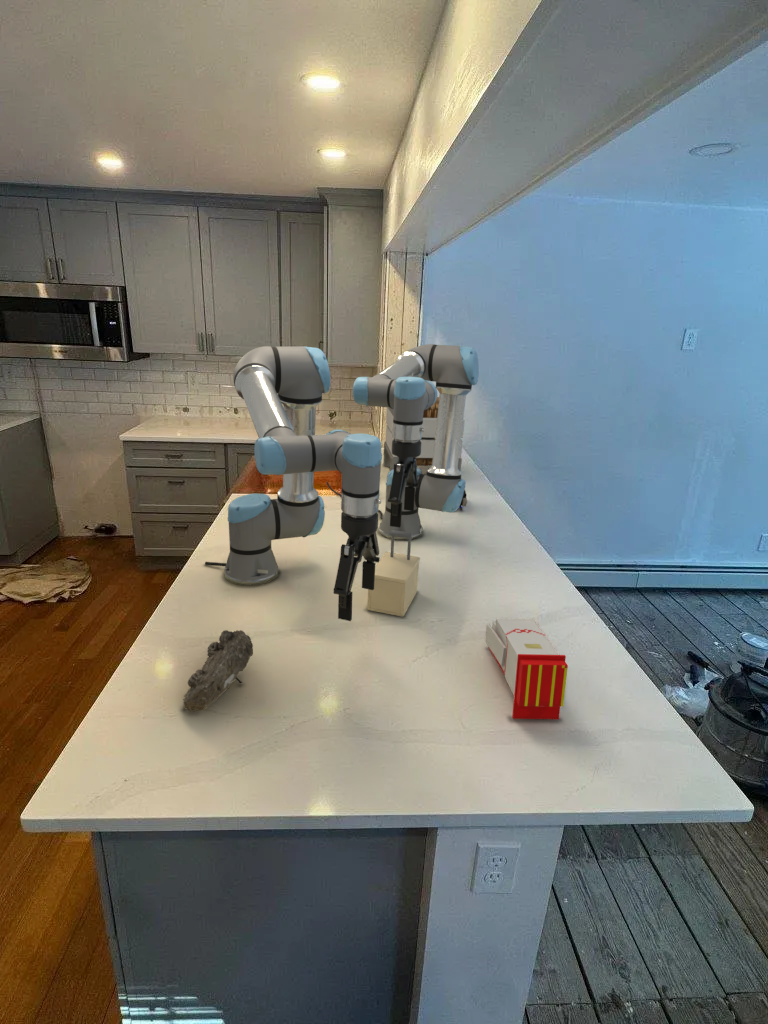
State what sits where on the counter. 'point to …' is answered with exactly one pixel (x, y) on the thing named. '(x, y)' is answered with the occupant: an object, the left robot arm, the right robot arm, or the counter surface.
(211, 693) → the fossil
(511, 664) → the toy
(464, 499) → the figurine character
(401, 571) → the lid
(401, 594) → the chest
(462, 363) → the right robot arm
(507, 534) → the counter surface
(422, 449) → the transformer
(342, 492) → the left robot arm
